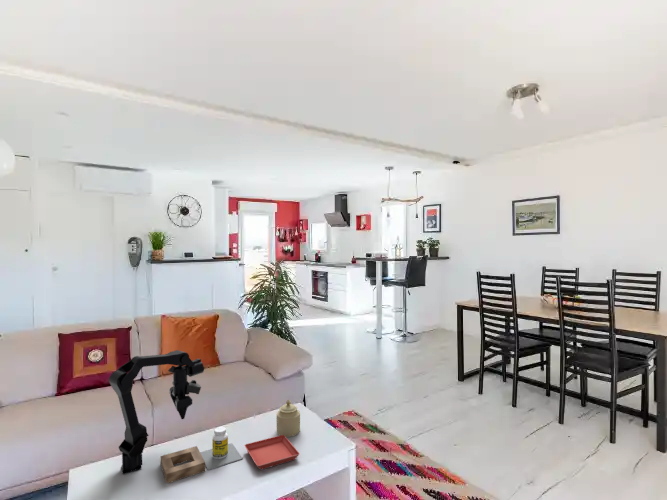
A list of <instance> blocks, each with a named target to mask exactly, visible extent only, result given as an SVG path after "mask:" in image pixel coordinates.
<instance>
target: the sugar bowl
mask: <svg viewBox="0 0 667 500" xmlns="http://www.w3.org/2000/svg"><path fill="white" fill-rule="evenodd" d="M300 430H301V412H300V411H299V410H298V407H297V406H296V405H294V404H292V401H291V400H290V399H287V400H286V403H284V404H283V405H282V406H280V407H279V410H278V411H277V412H276V433H277V435H278V436H280V435H284V436H285V437H286V438H289V437H294V436H297V435H298V434H299V433H300Z"/></svg>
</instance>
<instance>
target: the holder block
mask: <svg viewBox="0 0 667 500" xmlns="http://www.w3.org/2000/svg"><path fill="white" fill-rule="evenodd" d="M200 452H201V451H200V449H199V448H198V445H196V446H192V447H188V448H186V449H181V450H178V451H175V452H171V453H167V454H164V455H160V457H159V458H160V467H161V470H162V473H163V478H164V480H165V483H166V484H168V483H170V484H171V483H172V482H173V483H174V482H176V481H179V480H182V479H185V478H187V477H192V476H194V475H198V474H200V473H201V474H202V473H204V472H206V466H205V461H204V459H203V457H202V455H201V453H200ZM186 462H187V463H186ZM179 464H180V465H179Z"/></svg>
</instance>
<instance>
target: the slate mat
mask: <svg viewBox="0 0 667 500" xmlns="http://www.w3.org/2000/svg"><path fill="white" fill-rule="evenodd" d="M212 450H213V449H212V448H210V449H208V450H204V451H200V453H201V455H202V457H203V459H204V461H205V469H207V471H211V470H213V469H216V468H219V467H223V466H227V465H229V464H232V463H235V462H239V461H242V460H244V459H243V458H244V457H242V455H241V454H240V452H239V451H238V449H237V448H236V447H235V445H234V443H233V442H232V443H228V455H227V456H226V457H225V458H222V459H215V458H213V454H212Z"/></svg>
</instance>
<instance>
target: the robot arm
mask: <svg viewBox="0 0 667 500" xmlns="http://www.w3.org/2000/svg"><path fill="white" fill-rule="evenodd" d="M163 365H171V367H170V368H169V369H168V371H167V372H169V373H172V377H173V379H172V380H173V381H172V386H171V387H170V388H169V395H170V398H171V400H172V402H173V404H174V407H175V409H176V411H177V412H178V414H179V417H180V419H181V420H185V417H186V415H187V410H188V408H189V407H190V406H192V405H193V398H192V397H191V396H190V394H196V395H199V394H200V391H201V389H202V386H201V384H200V383H198V382H197V380H195V379H191V381H188V377H189V378H190V377H191V378H192V377H194V376H198V375H200V374H201V375H202V374H203V373H204V371H205V366H204V364H203V362H202V359H201V358H196V359H194V360H192V359H191V358H190V354H189V353H188V352H187V351H186V352H185V351H182V350H173V351H169V352H167V353H164V354H153V355H141V356H140V355H136V356H134V357H131V359H130V360H129V361H127V362H125V363H124V364H122V365H121V366H119V368H118V369H116V370H114V371H113V372H112V373H111V374H110V375H109V376H108V382H109V384H110V386H111V388H112V389H113V390H114V391H113V392H115V394H116V395H117V398H118V401H119V404H120V409H121V413H122V418H123V421H124V425H125V430H124V439H123V440H122V442H121V443H120V444H119V445H118V450H119V451H120V452H121V471H122V475H125V474H129V473H131V472H132V473H133V472H135V471H139V470H142V465H143V453H144V450H145V446H146V443H147V442H148V437H149V436H150V434H149V433H148V432H147V431H148V430H147V426H146V425H143V424H141V423H139V418H138V413H137V411H136V406H135V403H134V399H133V395H132V390H133V386H134V385H133V383H134V382H133V381H134V380H135V379H136V378H137V377H138V375H139V373H140V371H141V369H143V368H146V367H154V366H163Z"/></svg>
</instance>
